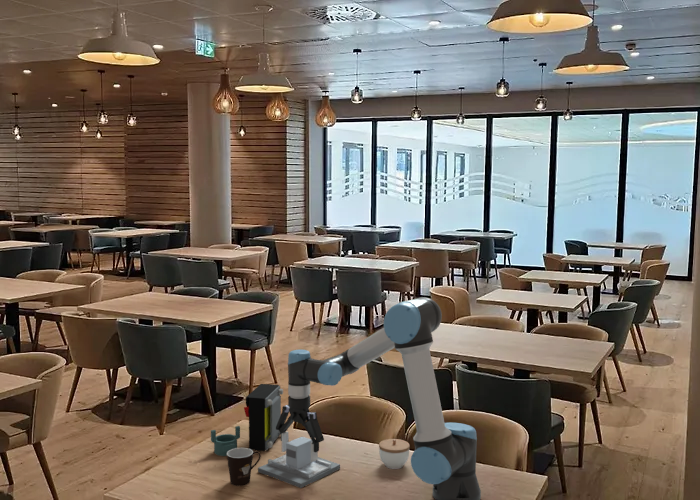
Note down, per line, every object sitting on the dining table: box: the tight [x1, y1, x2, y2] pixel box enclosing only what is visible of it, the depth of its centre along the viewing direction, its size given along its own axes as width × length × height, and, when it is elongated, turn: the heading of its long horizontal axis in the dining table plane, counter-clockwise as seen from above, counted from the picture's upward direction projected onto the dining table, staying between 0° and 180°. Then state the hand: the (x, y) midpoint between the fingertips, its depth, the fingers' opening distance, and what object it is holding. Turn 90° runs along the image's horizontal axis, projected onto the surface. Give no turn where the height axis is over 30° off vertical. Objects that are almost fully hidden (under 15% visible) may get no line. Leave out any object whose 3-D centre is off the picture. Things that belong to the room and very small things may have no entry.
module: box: [285, 436, 312, 469], centre depth 238 cm, size 5×8×8 cm, turn 142°
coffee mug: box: [226, 447, 262, 487], centre depth 229 cm, size 12×9×10 cm
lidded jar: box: [378, 438, 411, 470], centre depth 243 cm, size 11×11×9 cm
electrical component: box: [243, 383, 284, 452], centre depth 264 cm, size 18×10×20 cm, turn 168°
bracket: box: [210, 425, 241, 457], centre depth 255 cm, size 9×9×9 cm
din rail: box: [267, 453, 331, 479], centre depth 239 cm, size 19×12×2 cm, turn 51°
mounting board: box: [257, 456, 341, 489], centre depth 239 cm, size 20×20×2 cm
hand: (299, 455), depth 238 cm, fingers open, 13 cm apart
